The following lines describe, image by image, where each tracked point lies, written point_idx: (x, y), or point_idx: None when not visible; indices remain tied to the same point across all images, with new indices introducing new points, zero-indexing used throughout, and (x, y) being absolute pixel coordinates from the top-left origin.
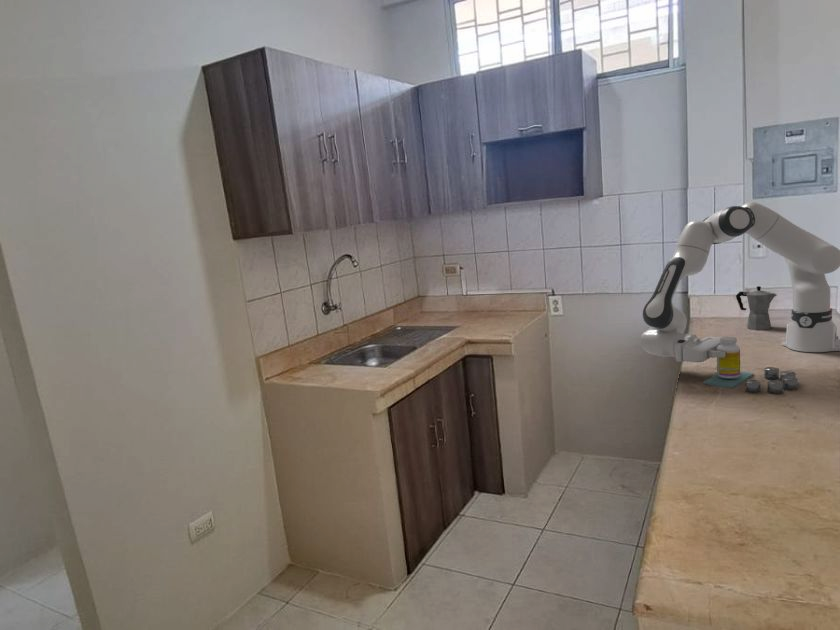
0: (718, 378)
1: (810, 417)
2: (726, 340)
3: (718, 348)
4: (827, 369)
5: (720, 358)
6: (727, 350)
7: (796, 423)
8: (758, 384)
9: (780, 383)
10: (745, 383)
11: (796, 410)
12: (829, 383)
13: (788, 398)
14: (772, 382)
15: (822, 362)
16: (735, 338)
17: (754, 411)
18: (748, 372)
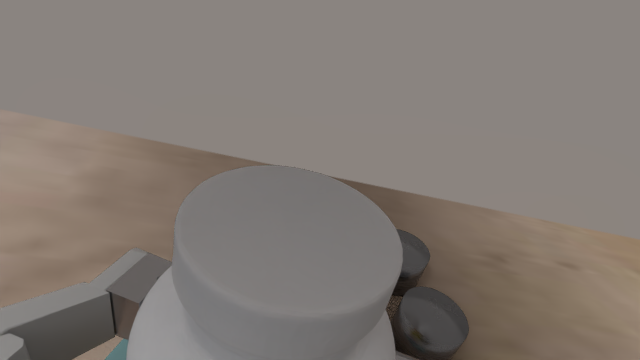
0: None
1: (537, 240)
2: (398, 252)
3: None
4: (120, 140)
5: None
6: (390, 331)
7: (601, 268)
8: (443, 299)
9: (407, 235)
10: (452, 349)
11: (515, 254)
12: (262, 165)
13: (432, 254)
14: (408, 253)
15: (29, 128)
16: (303, 172)
17: (628, 352)
18: (124, 339)
